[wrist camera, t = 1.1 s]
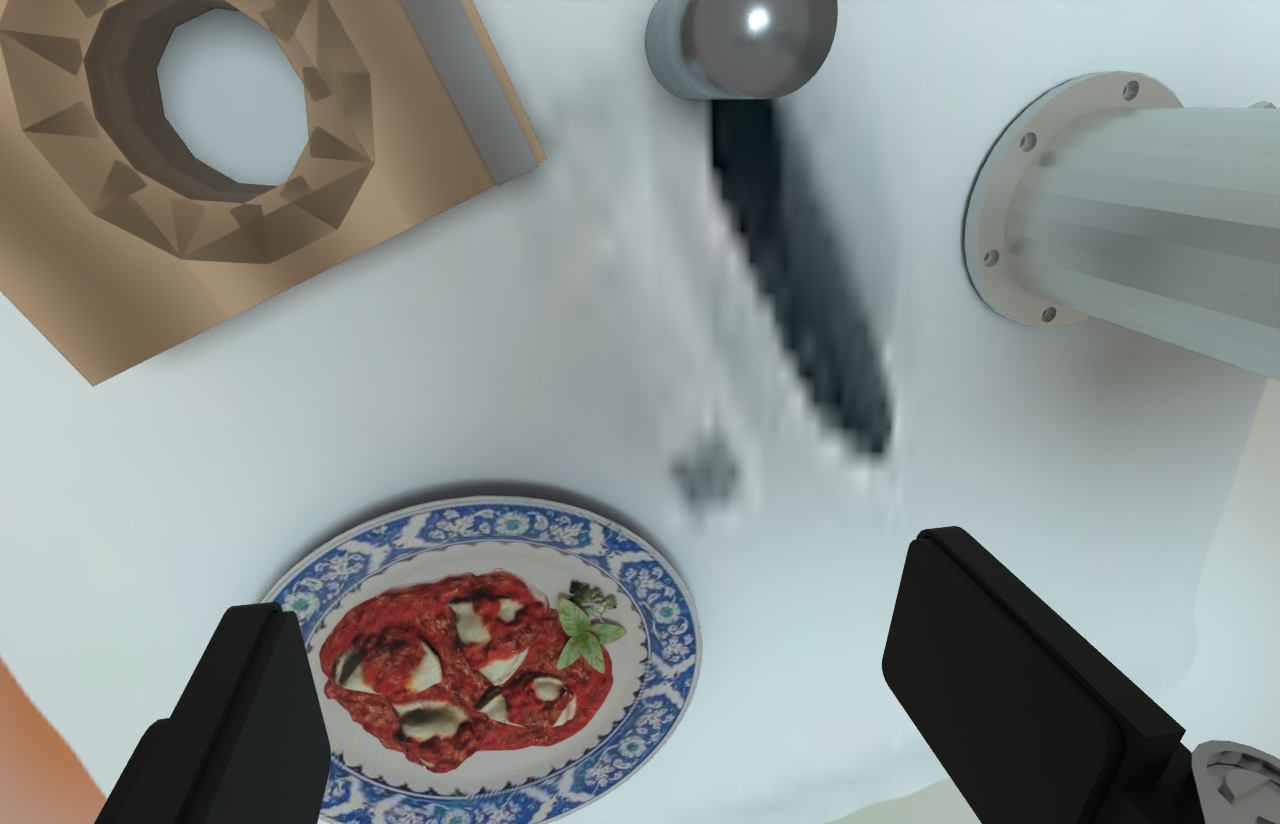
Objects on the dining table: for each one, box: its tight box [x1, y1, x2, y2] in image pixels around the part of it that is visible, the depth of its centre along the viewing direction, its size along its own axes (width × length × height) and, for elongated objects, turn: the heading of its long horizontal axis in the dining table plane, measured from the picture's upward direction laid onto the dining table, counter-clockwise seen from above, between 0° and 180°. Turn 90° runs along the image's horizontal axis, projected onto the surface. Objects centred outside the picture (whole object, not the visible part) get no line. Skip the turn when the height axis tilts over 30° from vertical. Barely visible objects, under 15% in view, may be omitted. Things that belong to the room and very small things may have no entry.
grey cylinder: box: [645, 0, 838, 100], centre depth 24 cm, size 4×4×8 cm
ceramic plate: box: [260, 495, 702, 824], centre depth 38 cm, size 26×26×3 cm
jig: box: [0, 0, 547, 386], centre depth 23 cm, size 18×12×6 cm, turn 114°
